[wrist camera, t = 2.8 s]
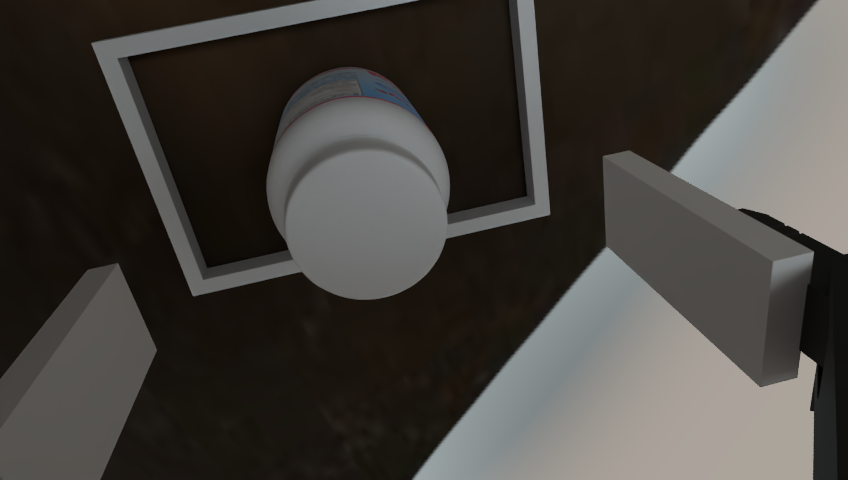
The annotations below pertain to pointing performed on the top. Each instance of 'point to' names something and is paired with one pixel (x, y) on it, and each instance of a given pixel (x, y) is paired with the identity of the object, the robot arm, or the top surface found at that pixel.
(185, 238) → the white rectangular frame
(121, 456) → the top surface
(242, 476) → the top surface
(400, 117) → the pill bottle
